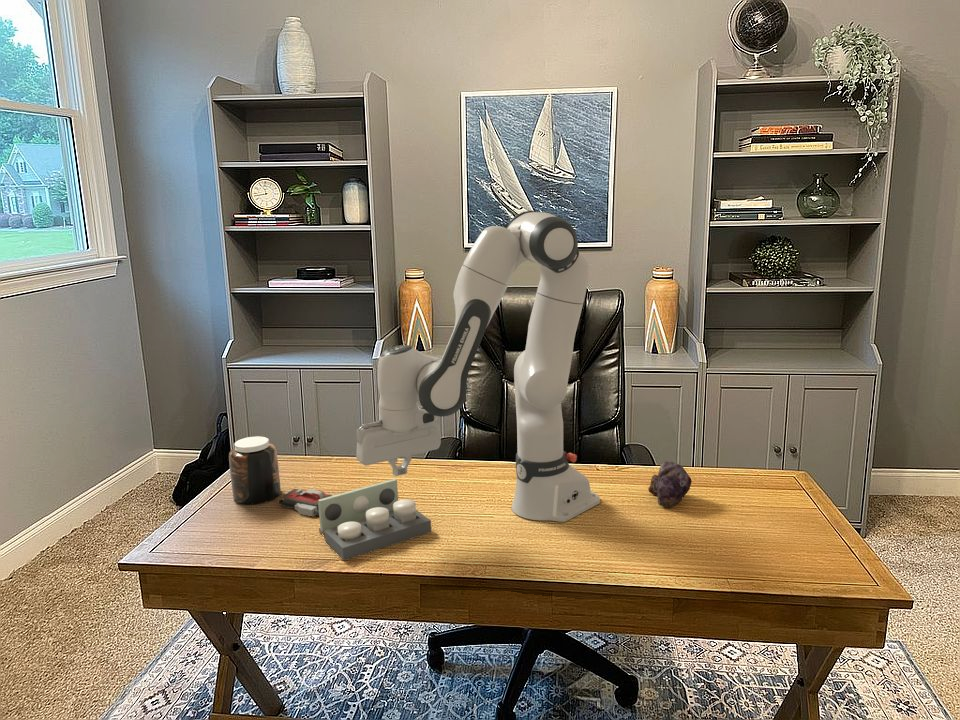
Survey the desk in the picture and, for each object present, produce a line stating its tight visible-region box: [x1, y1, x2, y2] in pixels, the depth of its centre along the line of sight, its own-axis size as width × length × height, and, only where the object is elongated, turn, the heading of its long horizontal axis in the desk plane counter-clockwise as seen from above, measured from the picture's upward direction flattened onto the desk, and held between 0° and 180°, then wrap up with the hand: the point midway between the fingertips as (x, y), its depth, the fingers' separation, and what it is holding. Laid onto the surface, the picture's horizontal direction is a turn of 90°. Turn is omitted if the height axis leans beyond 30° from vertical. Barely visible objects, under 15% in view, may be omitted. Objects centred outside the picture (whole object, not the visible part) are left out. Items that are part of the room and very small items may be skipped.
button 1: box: [338, 522, 362, 542], centre depth 169 cm, size 5×5×4 cm
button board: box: [324, 509, 432, 561], centre depth 173 cm, size 22×10×3 cm, turn 124°
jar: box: [228, 435, 282, 506], centre depth 196 cm, size 12×12×15 cm
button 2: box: [393, 499, 417, 524], centre depth 176 cm, size 5×5×4 cm
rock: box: [648, 460, 692, 509], centre depth 188 cm, size 12×9×10 cm
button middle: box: [366, 507, 389, 533], centre depth 172 cm, size 5×5×4 cm
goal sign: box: [318, 478, 399, 537], centre depth 180 cm, size 20×3×8 cm, turn 124°
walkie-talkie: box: [277, 488, 333, 517], centre depth 189 cm, size 9×4×20 cm
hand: (400, 474), depth 174 cm, fingers closed
